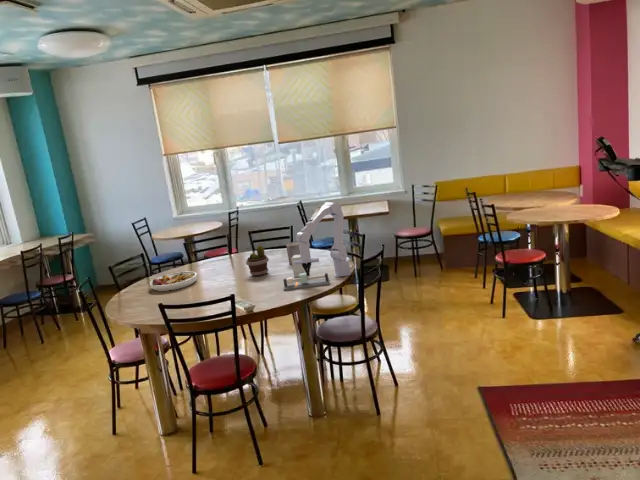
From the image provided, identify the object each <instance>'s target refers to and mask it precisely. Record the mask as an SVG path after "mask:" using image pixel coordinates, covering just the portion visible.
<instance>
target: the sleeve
mask: <svg viewBox="0 0 640 480" xmlns="http://www.w3.org/2000/svg"><path fill="white" fill-rule="evenodd" d="M307 277H308V276H307V274H306V273H300V274H299V277H298V278H300V281H299V282H300V283H306V282H308V281H309V280H307Z"/></svg>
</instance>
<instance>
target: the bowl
mask: <svg viewBox="0 0 640 480" xmlns="http://www.w3.org/2000/svg"><path fill="white" fill-rule="evenodd" d="M197 278H198V273H197V272H196V271H187V270H186V271H178V272H173V273H168V274H164V275H162V276H158V277H156V278H153V280H151V281H150V282H149V285H150V287H151V289H152V290H154V291H156V290H157V291H156V292H170V291H169V290H172V291H175V290H176V289H177V290H181V289H183V288H186V287H189V286H191V285H192V284H195V282H196V280H197ZM180 288H181V289H180ZM177 290H176V291H177Z"/></svg>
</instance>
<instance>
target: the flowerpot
mask: <svg viewBox="0 0 640 480" xmlns="http://www.w3.org/2000/svg"><path fill="white" fill-rule="evenodd" d="M255 250H256V253H255V252H254V253H253V252H252V253H249V257H247V259H246V261H245V264H246V266H248V269H249V274H250V276H252V277H261V276H265V275H267V274H268V272H269V268H268V262H269V260H270V259H269V257H268V256H267V255H266V253H265V252H266V249H265V247H264V246H263V245H262V244H261V243H260V244H258V245H257V247H256V249H255Z"/></svg>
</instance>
